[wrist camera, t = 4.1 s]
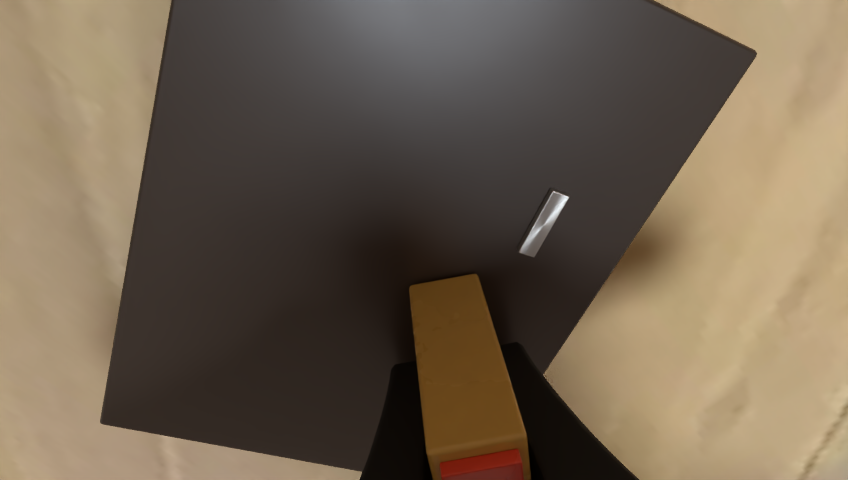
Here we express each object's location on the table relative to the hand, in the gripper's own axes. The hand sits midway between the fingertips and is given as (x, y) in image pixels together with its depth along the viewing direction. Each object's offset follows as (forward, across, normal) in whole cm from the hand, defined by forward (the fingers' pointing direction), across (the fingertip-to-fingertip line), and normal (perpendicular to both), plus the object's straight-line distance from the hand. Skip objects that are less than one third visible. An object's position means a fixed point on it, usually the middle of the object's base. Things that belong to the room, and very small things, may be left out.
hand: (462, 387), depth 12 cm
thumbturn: (+1, 0, 0) cm, 1 cm away
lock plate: (+4, +1, -3) cm, 5 cm away
